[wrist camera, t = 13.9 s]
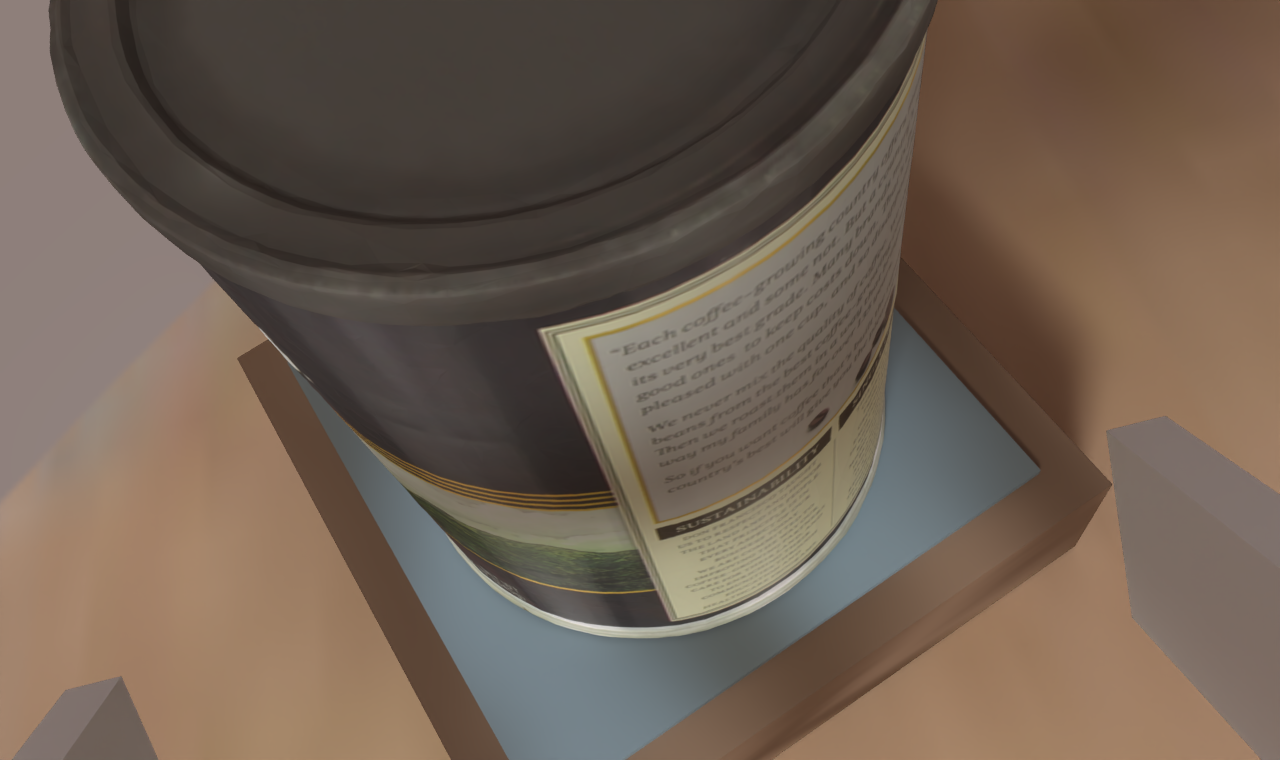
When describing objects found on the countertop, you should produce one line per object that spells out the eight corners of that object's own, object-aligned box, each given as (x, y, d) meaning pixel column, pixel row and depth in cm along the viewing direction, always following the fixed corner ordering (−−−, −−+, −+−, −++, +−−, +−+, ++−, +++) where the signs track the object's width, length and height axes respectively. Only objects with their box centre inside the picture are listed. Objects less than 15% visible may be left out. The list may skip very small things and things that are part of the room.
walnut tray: (732, 159, 33) (720, 59, 30) (1075, 546, 27) (1114, 480, 23) (303, 425, 32) (233, 354, 28) (566, 904, 25) (521, 895, 22)
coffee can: (429, 681, 24) (-20, 373, 11) (415, 254, 28) (88, -304, 16) (941, 604, 23) (1082, 178, 10) (840, 178, 27) (852, -473, 15)
